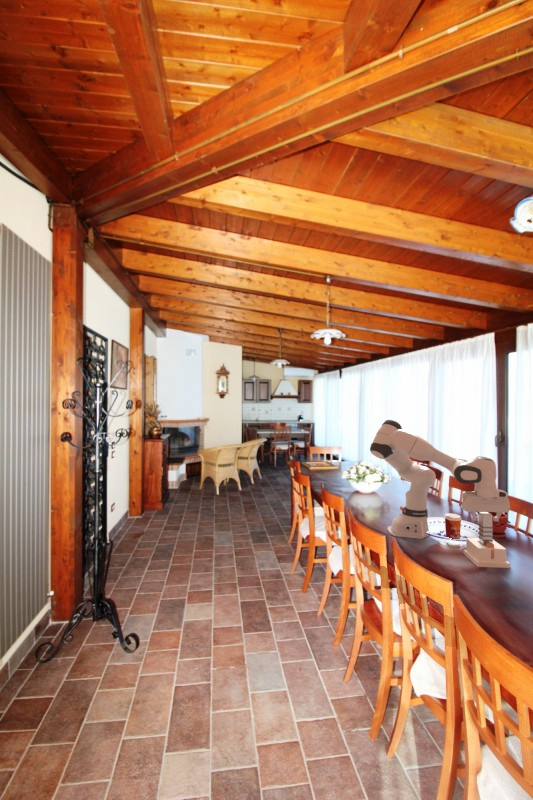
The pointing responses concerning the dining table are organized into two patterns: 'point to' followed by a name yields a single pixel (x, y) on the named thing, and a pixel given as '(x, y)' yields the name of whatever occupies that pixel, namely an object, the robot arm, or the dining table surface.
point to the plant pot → (499, 525)
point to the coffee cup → (452, 525)
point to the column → (485, 528)
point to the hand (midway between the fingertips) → (485, 520)
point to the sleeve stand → (486, 554)
